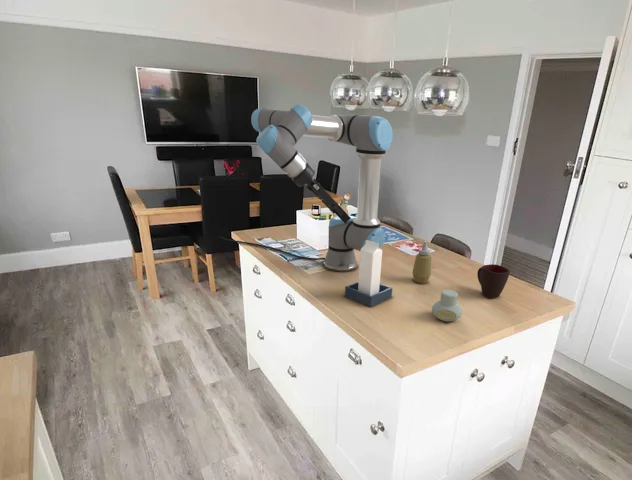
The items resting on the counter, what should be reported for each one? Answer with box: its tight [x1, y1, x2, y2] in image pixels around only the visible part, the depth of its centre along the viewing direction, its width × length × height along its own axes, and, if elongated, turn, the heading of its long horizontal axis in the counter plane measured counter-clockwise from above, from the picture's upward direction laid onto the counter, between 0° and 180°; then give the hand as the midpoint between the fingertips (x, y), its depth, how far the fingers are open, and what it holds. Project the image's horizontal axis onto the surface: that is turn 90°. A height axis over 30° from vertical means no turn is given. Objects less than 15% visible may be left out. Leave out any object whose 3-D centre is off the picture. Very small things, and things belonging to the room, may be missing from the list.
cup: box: [476, 264, 511, 299], centre depth 173 cm, size 10×14×12 cm
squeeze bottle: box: [411, 241, 432, 284], centre depth 179 cm, size 8×8×18 cm
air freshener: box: [431, 289, 463, 322], centre depth 150 cm, size 11×8×10 cm
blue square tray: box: [344, 281, 393, 308], centre depth 163 cm, size 13×13×4 cm
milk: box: [358, 240, 383, 296], centre depth 159 cm, size 6×6×22 cm
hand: (341, 215), depth 146 cm, fingers open, 13 cm apart
